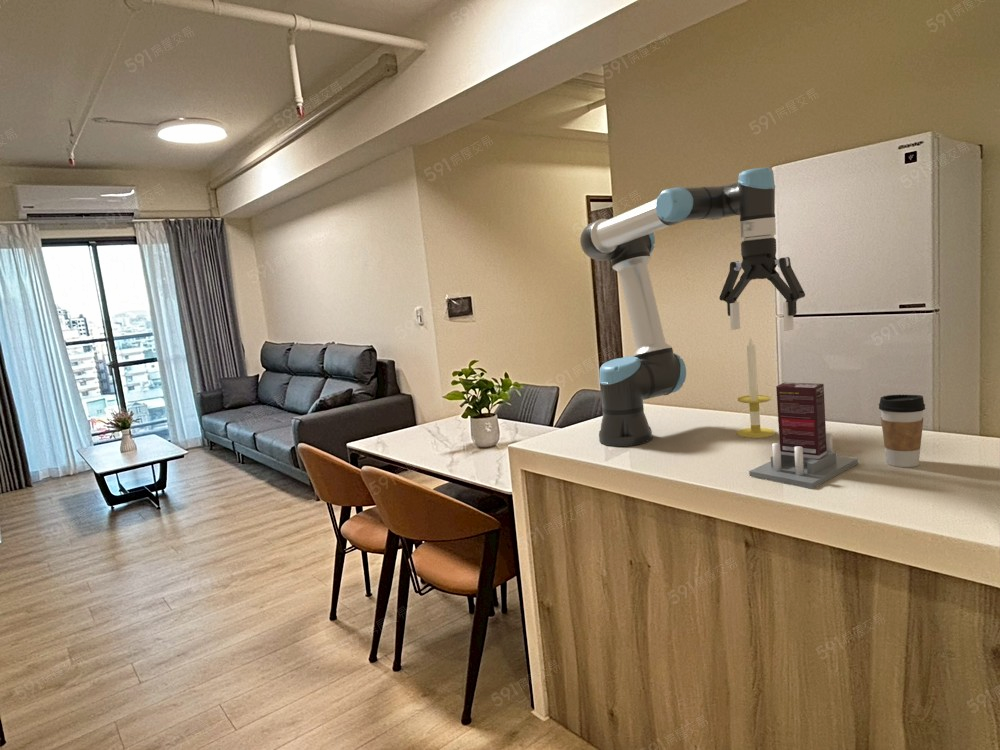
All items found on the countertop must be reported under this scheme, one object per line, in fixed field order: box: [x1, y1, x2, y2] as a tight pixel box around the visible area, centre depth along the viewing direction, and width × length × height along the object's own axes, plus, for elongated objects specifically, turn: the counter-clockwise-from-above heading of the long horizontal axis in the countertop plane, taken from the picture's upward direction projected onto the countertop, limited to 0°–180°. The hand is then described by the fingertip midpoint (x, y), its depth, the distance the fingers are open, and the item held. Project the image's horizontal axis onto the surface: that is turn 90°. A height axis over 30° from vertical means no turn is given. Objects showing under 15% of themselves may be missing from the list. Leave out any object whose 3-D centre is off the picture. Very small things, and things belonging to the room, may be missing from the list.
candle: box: [736, 336, 776, 439], centre depth 167 cm, size 10×10×27 cm
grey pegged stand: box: [748, 432, 859, 490], centre depth 136 cm, size 14×20×7 cm
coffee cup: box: [878, 394, 926, 468], centre depth 132 cm, size 8×8×15 cm
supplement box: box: [775, 382, 827, 459], centre depth 135 cm, size 9×5×16 cm, turn 43°
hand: (761, 329), depth 145 cm, fingers open, 13 cm apart
